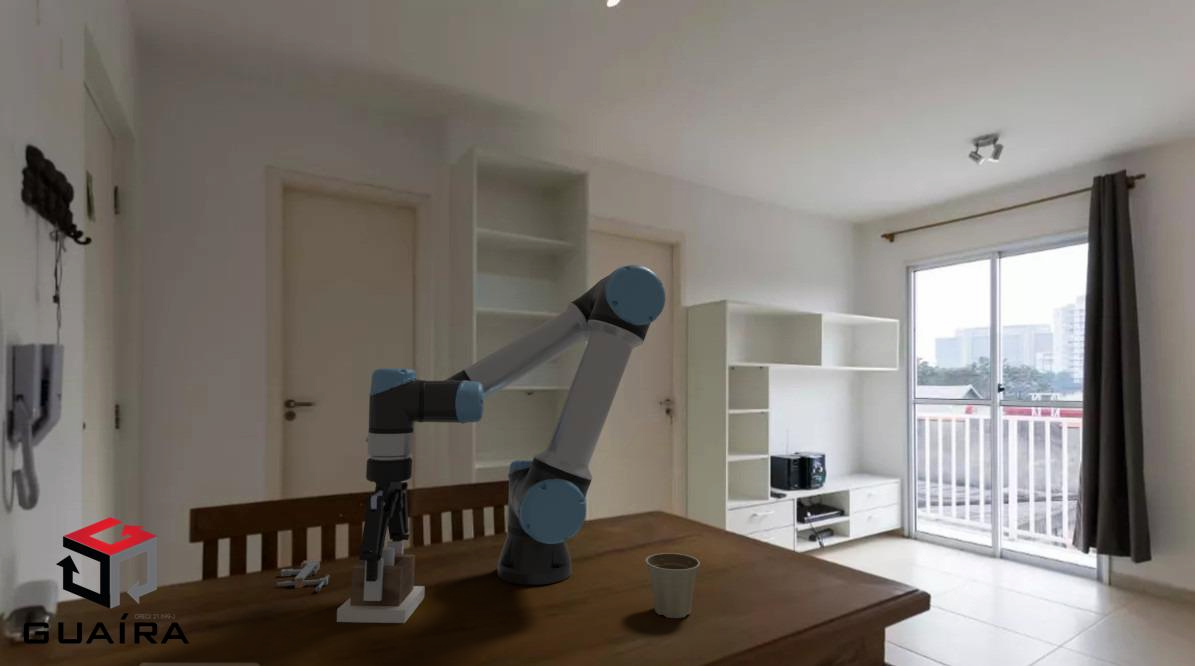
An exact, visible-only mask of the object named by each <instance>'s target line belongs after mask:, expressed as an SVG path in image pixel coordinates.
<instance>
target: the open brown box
mask: <svg viewBox="0 0 1195 666" xmlns="http://www.w3.org/2000/svg"><path fill="white" fill-rule="evenodd" d="M415 562H416V554H408V553H406V554H404V553H403V554H395V557H394V566H383V584H382V599H381V601H363V600H364V579H365V560H360V561H359V562H357V564H356V565H354V566H353V567H352V568H351V583H350V584H351V586H350V597H351V601H350V606H400V605H401V603H402V602H403V601H404V600H405V599H406V597H407V596H408V595H409V594H410V593H411V592H412V590H413V589H414V586H415V570H416V569H415V568H416V567H415V565H416V563H415Z"/></svg>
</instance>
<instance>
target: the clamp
mask: <svg viewBox="0 0 1195 666" xmlns="http://www.w3.org/2000/svg"><path fill="white" fill-rule="evenodd" d="M320 564H321V562H320V561H319V560H318V559H317V560H315V559H313V560H312V559H311V560H310V559H309V560H302V562H301V563H300V569H294V568H286V569H285V568H283V569H281V571H280V577H292V576H295V577H294V579H293V580H285V581H281V582H280V581H277V582H276V586H285V587H287V586H290V587H291V586H294V588H295V589H299V588H301V589H302V588H304V587H305V586H306V585H317V586H316V587H315V588H314V589H315V592H320V591H321V590H322V587H323V586H327V585H328V583H329V580H330V578H331V576H330V574H325V575H324V577H320V578H319V579H309V580H308V579H306V577H311V576H313V575H316V574H317V571H319V570H320V566H321V565H320ZM305 579H306V580H305Z"/></svg>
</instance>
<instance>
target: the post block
mask: <svg viewBox="0 0 1195 666" xmlns="http://www.w3.org/2000/svg"><path fill="white" fill-rule="evenodd" d="M394 557H395V548H394V547H387V546H383V551H382V557H381V558H384V562H383V566H394ZM425 588H426V586H425V585H414V589H413V590H412V592H411V593H410V594H409V595H408V596H407V597H406V599H405V600H404V601H403V602H402V603H401V605H400V606H350V601H351V596H350V597H348V599H347V600H345V602H344V603H342V604H341V605H340V606H339V607H338V608H337V610H336V622H337V623H373V624H375V623H382V624H391V623H392V624H405V623H406V622H407V621H408V619H409V618H410V617H411V616H412V615H413V613H414V612H415V610H416V609H417V608H418V607H419V605H420V604H421V603H422V601H423V600H425V590H426V589H425Z"/></svg>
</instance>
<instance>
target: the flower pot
mask: <svg viewBox="0 0 1195 666" xmlns="http://www.w3.org/2000/svg"><path fill="white" fill-rule="evenodd" d="M645 564H646V565H647V568H648V572H649V574H650V576H649V577H650V582H651V589H652V596H653V598H652V599H653V606H654V612H655V613H656V614H657V615H659V616H660V615H663V616H664V617H665V618H667V619H683V618H685V617H686V616H688V615H690V614H691V613H692V612H691V611H692V602H693V595H694V587H695V580H696V576H697V574H698V568H700V566H701V562H700V560H698V559H697V558H695V557H694V556H691V555H687V554H682V553H678V552H677V553H674V552H673V553H672V552H661V553H654V554H651V555H649V556H647V557H646V558H645Z"/></svg>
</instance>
